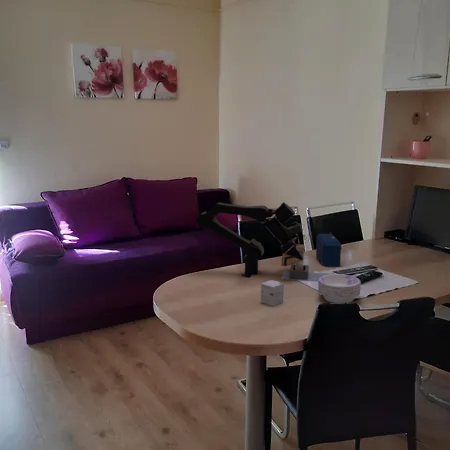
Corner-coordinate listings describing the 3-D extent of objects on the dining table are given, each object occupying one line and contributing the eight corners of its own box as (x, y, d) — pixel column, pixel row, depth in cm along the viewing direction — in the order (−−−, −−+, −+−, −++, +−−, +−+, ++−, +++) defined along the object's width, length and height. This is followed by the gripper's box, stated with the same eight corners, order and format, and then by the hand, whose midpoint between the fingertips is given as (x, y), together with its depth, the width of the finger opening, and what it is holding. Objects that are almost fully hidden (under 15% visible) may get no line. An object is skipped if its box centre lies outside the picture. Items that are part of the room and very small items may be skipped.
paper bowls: (309, 295, 177) (310, 275, 175) (343, 290, 182) (344, 271, 180) (332, 309, 163) (333, 288, 161) (368, 304, 168) (369, 283, 167)
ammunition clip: (284, 268, 212) (284, 242, 210) (281, 267, 214) (281, 241, 211) (300, 264, 219) (301, 239, 216) (297, 263, 220) (298, 238, 218)
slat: (295, 276, 195) (295, 247, 193) (296, 272, 200) (296, 244, 198) (302, 276, 195) (303, 247, 192) (303, 273, 199) (304, 244, 197)
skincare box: (260, 302, 170) (260, 283, 169) (271, 298, 174) (271, 279, 173) (273, 306, 166) (273, 287, 164) (283, 302, 170) (284, 283, 169)
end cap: (289, 278, 194) (289, 270, 193) (291, 272, 203) (291, 264, 202) (307, 279, 192) (307, 271, 192) (308, 273, 201) (308, 265, 201)
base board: (280, 281, 194) (280, 278, 193) (283, 272, 205) (283, 270, 205) (339, 285, 188) (339, 283, 188) (339, 276, 200) (339, 274, 200)
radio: (342, 269, 211) (344, 225, 207) (322, 269, 211) (324, 225, 207) (332, 256, 231) (334, 217, 227) (315, 256, 231) (316, 217, 228)
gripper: (289, 221, 184) (316, 249, 184) (293, 213, 202) (318, 239, 202) (269, 239, 188) (296, 267, 188) (275, 230, 206) (299, 255, 205)
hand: (303, 256), depth 196 cm, fingers open, 9 cm apart
